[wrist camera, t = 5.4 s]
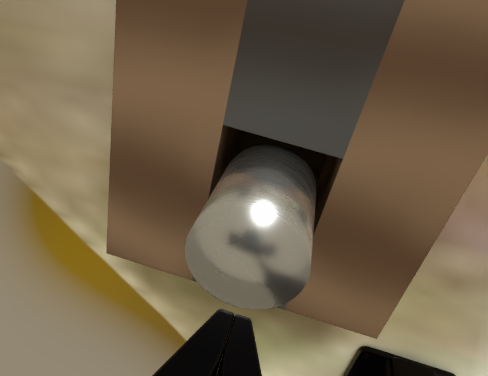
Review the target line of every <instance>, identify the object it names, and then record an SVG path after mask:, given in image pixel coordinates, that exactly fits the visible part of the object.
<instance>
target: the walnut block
mask: <svg viewBox="0 0 488 376" xmlns="http://www.w3.org/2000/svg"><path fill="white" fill-rule="evenodd" d="M239 130H243V131H246V132H250V133H253V134H257V135H260V136H264V137H267V138H271V139H274V140H278V141H282V142H285V143H289V144H292V145H296V146H299V147H303V148H306V149H310V150H313V151H317V152H320V153H324V154H327V158H326V160H325V163H324V166H323V169H322V171H321V174H320V177H319V180H318V183H317V185H316V203H315V217H314V230H313V243H312V257H311V269H310V275H309V279H308V282H307V283H306V285H305V287H304V289H303V290H302V291H301V292H300V293H299V294H298V295H297V296H296V297H295V298H294V299H292V300H291V301H289V302H287V303H285V304H283V305H281V306H278V308H281V309H284V310H287V311H291V312H294V313H297V314H300V315H303V316H306V317H310V318H313V319H316V320H319V321H322V322H325V323H328V324H332V325H335V326H338V327H341V328H344V329H347V330H351V331H354V332H357V333H360V334H363V335H366V336H369V337H373V338H376V339H377V337H378V336H379V334H380V332H381V331H382V329H383V327H384V326H385V324H386V322H387V321H388V319H389V317H390V316H391V314H392V312H393V311H394V309H395V307H396V306H397V304H398V302H399V301H400V299H401V297H402V296H403V294H404V292H405V291H406V289H407V287H408V286H409V284H410V282H411V281H412V279H413V277H414V276H415V274H416V272H417V271H418V269H419V267H420V266H421V264H422V262H423V261H424V259H425V257H426V256H427V254H428V252H429V251H430V249H431V247H432V246H433V244H434V242H435V241H436V239H437V237H438V236H439V234H440V232H441V231H442V229H443V227H444V226H445V224H446V222H447V221H448V219H449V217H450V216H451V214H452V212H453V211H454V209H455V207H456V206H457V204H458V202H459V201H460V199H461V197H462V196H463V194H464V192H465V191H466V189H467V187H468V186H469V184H470V182H471V181H472V179H473V177H474V176H475V174H476V172H477V171H478V169H479V167H480V166H481V164H482V162H483V161H484V159H485V157H486V156H487V154H488V0H116V23H115V49H114V74H113V100H112V125H111V151H110V176H109V202H108V227H107V253H108V254H111V255H114V256H117V257H120V258H123V259H127V260H130V261H133V262H136V263H139V264H142V265H146V266H149V267H152V268H155V269H158V270H161V271H164V272H168V273H171V274H174V275H177V276H180V277H183V278H187V279H190V280H193V281H196V279H195V278H194V277H193V275H192V273H191V271H190V270H189V267H188V264H187V261H186V257H185V243H186V239H187V236H188V234H189V232H190V230H191V228H192V226H193V225H194V223H195V221H196V219H197V218H198V216H199V214H200V213H201V211H202V209H203V207H204V206H205V204H206V202H207V201H208V199H209V197H210V195H211V194H212V192H213V190H214V188H215V187H216V185H217V183H218V182H219V180H220V178H221V176H222V175H223V173H224V171H225V170H226V168H227V166H228V165H229V163H230V162H231V160H232V159H233V157H234V152H235V148H236V143H237V139H238V134H239ZM196 282H197V281H196Z"/></svg>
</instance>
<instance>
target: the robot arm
mask: <svg viewBox="0 0 488 376" xmlns="http://www.w3.org/2000/svg"><path fill="white" fill-rule="evenodd" d="M233 319H234V320H233ZM232 322H233V323H232ZM230 329H231V330H230ZM229 332H230V333H229ZM228 335H229V336H228ZM226 342H227V343H226ZM225 345H226V346H225ZM222 355H223V356H222ZM221 358H222V359H221ZM219 365H220V366H219ZM218 368H219V369H218ZM217 371H218V372H217ZM153 376H262V374H261V369H260V364H259V358H258V353H257V348H256V342H255V337H254V332H253V326H252V322H251V319H250V318H247V317H244V316H241V315H238V314H237V315H235V317H234V313H232V312H229V311H226V310H223V309H219V310H218V311H216V312H215V313H214V314H213V315H212V316H211V317H210V318H209V319H208V320H207V321H206V322H205V323H204V324H203V325H202V326H201V327H200V328H199V329H198V330H197V331H196V332H195V333H194V334H193V335H192V336H191V337H190V338H189V339H188V340H187V341H186V342H185V343H184V344H183V346H181V347H180V349H178V350H177V351H176V353H175V354H174V355H172V356H171V357H170V358H169V359H168V361H166V362H165V363H164V364H163V365H162V367H160V368H159V369H158V370H157V371H156V372H155V374H154V375H153ZM344 376H455V375H454V374H452V373H450V372H447V371H444V370H440V369H437V368H434V367H431V366H428V365H425V364H422V363H418V362H415V361H412V360H409V359H406V358H403V357H400V356H396V355H393V354H390V353H387V352H384V351H381V350H378V349H375V348H371V347H368V346H363V347H361V348H360V349H359V350H358V352H357V353H356V355H355V357H354V359H353V360H352V362H351V364H350V366H349V367H348V369H347V371H346V372H345V374H344Z"/></svg>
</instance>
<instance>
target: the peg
mask: <svg viewBox="0 0 488 376" xmlns="http://www.w3.org/2000/svg"><path fill="white" fill-rule="evenodd" d="M315 203H316V181H315V177H314V174H313V172H312V170H311V168H310V167H309V165H308V164H307V163H306V162H305V160H304V159H303V158H301V157H300V156H299V155H298V154H296V153H295V152H293V151H291V150H289V149H287V148H284V147H282V146H277V145H271V144H262V145H255V146H252V147H249V148H247V149H245V150H243V151H241V152H240V153H238V154H237V155H236V156H235V157H234V158H233V159H232V160H231V162H230V163H229V165H228V166H227V168H226V170H225V171H224V173H223V175H222V176H221V178H220V180H219V182H218V183H217V185H216V187H215V188H214V190H213V192H212V194H211V195H210V197H209V199H208V201H207V202H206V204H205V206H204V207H203V209H202V211H201V213H200V214H199V216H198V218H197V219H196V221H195V223H194V225H193V226H192V228H191V230H190V232H189V234H188V236H187V239H186V243H185V257H186V261H187V264H188V267H189V270H190V271H191V273H192V275H193V277H194V278H195V279H196V281H197V282H198V283H199V284H200V285H201V286H202V287H203V288H204V289H205V290H206V291H207V292H208V293H210V294H211V295H212V296H214V297H216V298H217V299H219V300H221V301H223V302H225V303H228V304H230V305H233V306H236V307H240V308H246V309H269V308H274V307H278V306H281V305H283V304H285V303H287V302H289V301H291V300H292V299H294V298H295V297H296V296H297V295H298V294H299V293H300V292H301V291H302V290H303V289H304V287H305V285H306V283H307V282H308V279H309V275H310V269H311V257H312V243H313V230H314V217H315Z"/></svg>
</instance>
